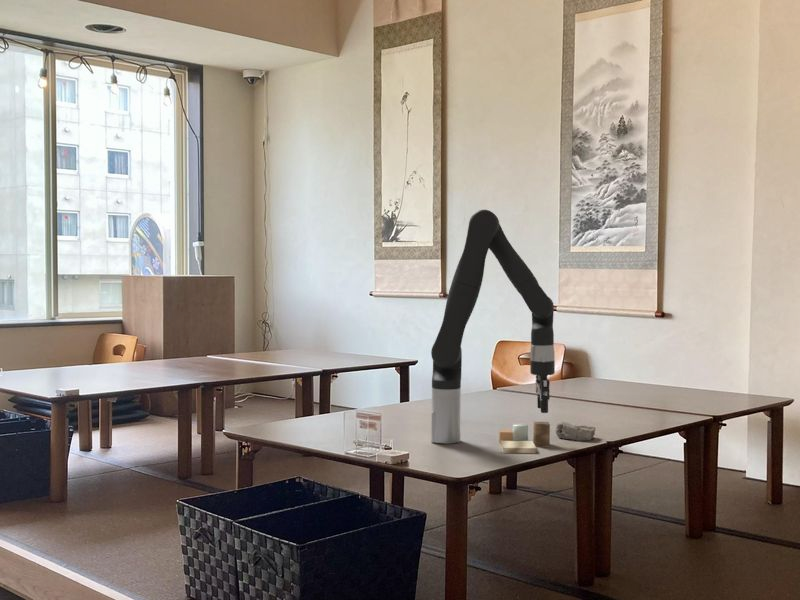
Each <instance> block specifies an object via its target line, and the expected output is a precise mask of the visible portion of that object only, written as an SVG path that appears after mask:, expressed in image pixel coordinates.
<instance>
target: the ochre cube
mask: <svg viewBox="0 0 800 600" xmlns="http://www.w3.org/2000/svg"><path fill="white" fill-rule="evenodd" d="M500 441H513V431H512V429H499V430H498V443H499V444H500Z"/></svg>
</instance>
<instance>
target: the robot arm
mask: <svg viewBox="0 0 800 600" xmlns="http://www.w3.org/2000/svg"><path fill="white" fill-rule="evenodd" d="M499 220H500V219H499V218H498V217H497V215H496V214H495V213H494V212H493V211H491V210H488V209H479V210H477V211H475V212H474V213H473V214H472V215H471V216H470V218H469V221H468V227H467V234H466V237H465V238H466V239H465V244H464V248H463V250H462V254H461V256H460V259H459V260H458V263H457V266H456V269H455V270H454V274H453V277H452V281H451V284H450V288H449V290H448V293H447V294H448V295H447V297H446V298H447V299H446V303H445V309H444V314H443V319H442V322H441V326H440V328H439V331H438V334H437V336H436V337H435V341H434V343H433V344H432V347H431V350H430V353H431V360H432V377H431V433H430V434H431V435H430V436H431V441H430V442H431V443H437V444H456V443H460V442H461V410H462V409H461V407H462V406H461V397H462V396H461V394H462V393H461V391H462V390H461V386H462V384H461V382H462V365H463V363H462V362H463V361H462V357H463V356H462V355H463V354H462V353H463V352H462V351H463V350H462V346H461V345H462V342H463V337H464V333H465V329H466V327H467V324H468V322H469V319H470V317H471V315H472V313H473V311H474V309H475V306H476V304H477V300H478V298H479V294H480V290H481V289H482V284H483V278H484V273H485V265H486V259H487V256H488V252H489V250H490V251H491V253H492V254H493V255H494V257H495V258H496V260H497V261H498V264H499V265H500V266H501V269H502V270H503V273H505V275H506V276H507V278H508V279H509V281H510V283H511V284H512V286H513V287H514V288H515V290H516V291H517V292H518V294H519V295H520V296H521V298H522V299H523V301H524V302H525V303H524V304H526V306H527V307H528V309H529V311H530V312H531V331H530V351H529V354H530V356H529V357H530V358H529V359H530V360H529V361H530V369H529V370H530V371H529V372H530V375H532V376H535V393H536V396H537V401H536V402H537V403H536V404H537V408H538V409H540V413H542V414H547V413H549V400H550V398H551V397H550V392H551V391H550V380H549V379H548V376H552V375H555V371H556V370H555V368H556V367H555V366H556V365H555V364H556V363H555V360H556V359H555V347H554V346H555V344H554V343H555V341H554V340H555V339H554V338H555V337H554V336H555V335H554V328H553V327H554V326H553V325H554V314H555V313H554V312H555V311H554V310H555V309H554V308H555V306H554V301H553V299H551V297H549V296H548V295H547V294H546V292H545V290H543V288H542V287H541V286H540V284H539V281H538V279H537V277H536V276H535V275H534V274H533V272H532V270H531V269H530V268H529V266H528V265H527V263H525V261H524V260H523V258H522V257H521V255H519V253H518V252H517V251H516V249H514V247H513V246H512V244H511V243H510V241H509V240H508V238H507V237H506V234H505V233H504V230H503V228H502V226H501V224H500V221H499Z"/></svg>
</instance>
